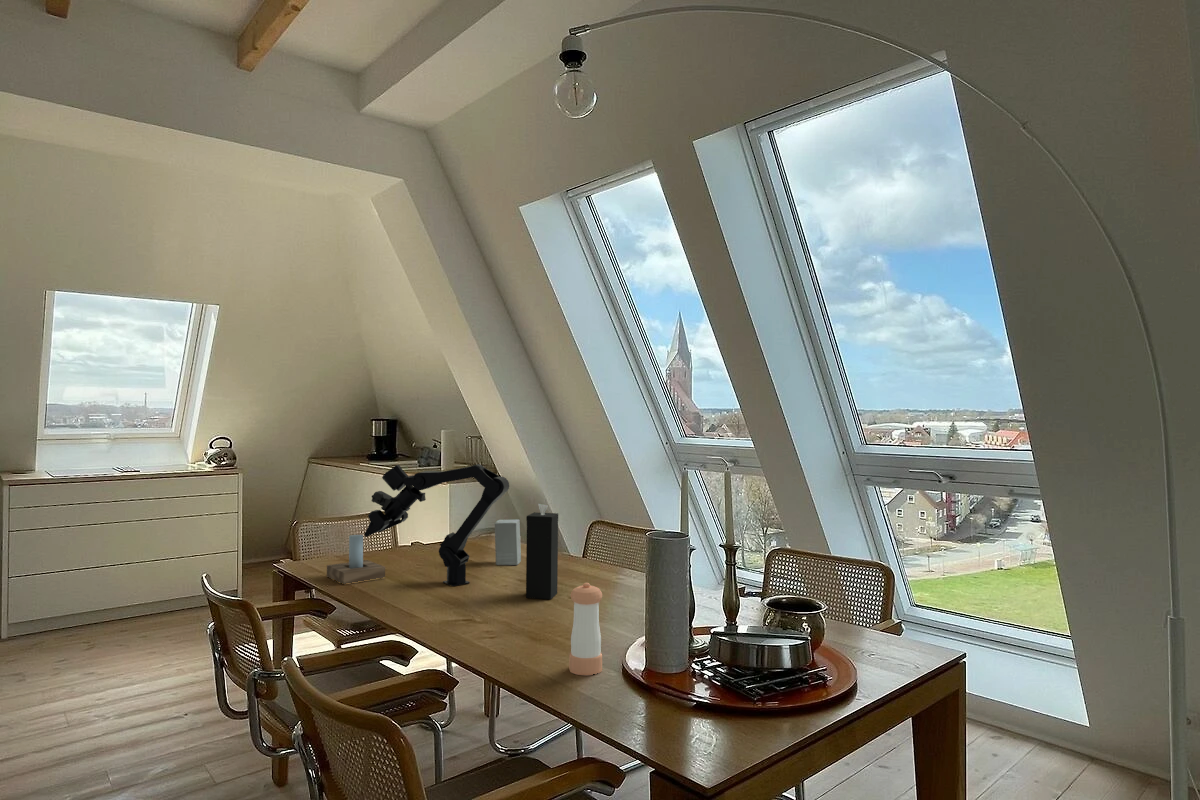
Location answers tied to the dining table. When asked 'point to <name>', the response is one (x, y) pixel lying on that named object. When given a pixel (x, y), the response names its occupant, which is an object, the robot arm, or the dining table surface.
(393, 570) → the dining table surface
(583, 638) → the salt shaker
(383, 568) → the socket block
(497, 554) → the skincare box
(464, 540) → the robot arm
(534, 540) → the tissue box
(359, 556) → the peg
